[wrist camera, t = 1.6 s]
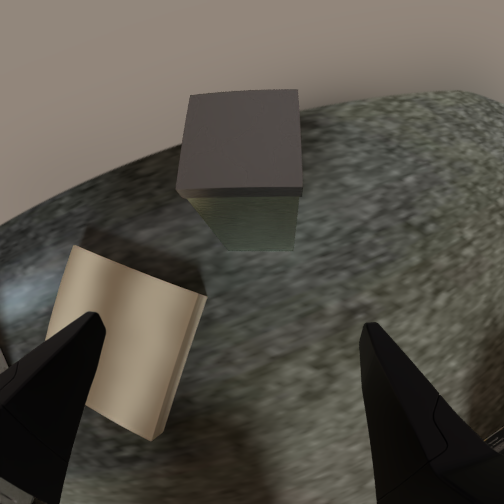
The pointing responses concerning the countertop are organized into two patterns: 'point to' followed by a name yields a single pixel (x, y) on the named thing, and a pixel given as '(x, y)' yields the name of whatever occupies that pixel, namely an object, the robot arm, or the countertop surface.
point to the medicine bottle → (496, 441)
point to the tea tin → (244, 166)
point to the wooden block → (130, 337)
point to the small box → (2, 363)
